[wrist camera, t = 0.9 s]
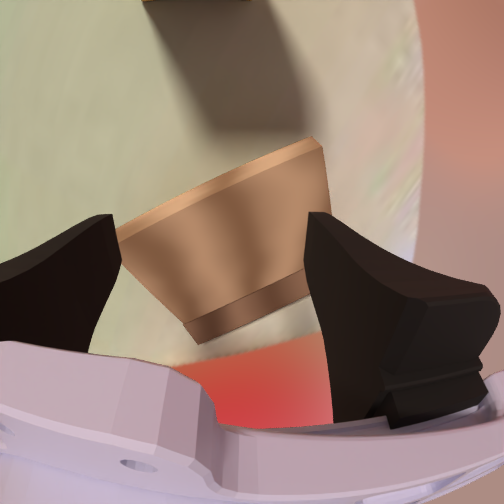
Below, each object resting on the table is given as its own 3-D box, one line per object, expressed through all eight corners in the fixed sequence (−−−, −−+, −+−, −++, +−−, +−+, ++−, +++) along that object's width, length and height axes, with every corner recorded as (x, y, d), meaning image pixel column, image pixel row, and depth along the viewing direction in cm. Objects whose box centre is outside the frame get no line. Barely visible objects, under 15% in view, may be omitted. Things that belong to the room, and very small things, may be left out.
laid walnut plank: (196, 335, 32) (198, 345, 30) (182, 315, 30) (183, 324, 29) (337, 269, 32) (344, 276, 30) (330, 245, 30) (337, 252, 29)
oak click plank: (180, 311, 29) (184, 323, 29) (107, 233, 20) (107, 248, 19) (328, 241, 30) (335, 252, 29) (311, 136, 20) (322, 146, 19)
